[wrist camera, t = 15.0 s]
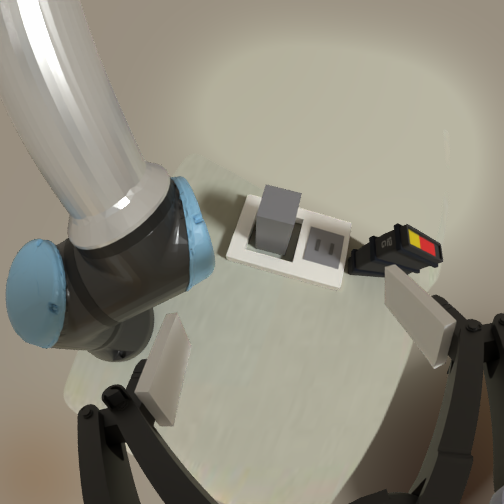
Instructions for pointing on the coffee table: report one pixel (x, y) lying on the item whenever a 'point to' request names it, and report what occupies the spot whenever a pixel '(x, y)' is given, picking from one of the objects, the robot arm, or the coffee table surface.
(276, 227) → the grey tall block
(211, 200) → the coffee table surface
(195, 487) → the robot arm
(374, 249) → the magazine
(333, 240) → the white flat rectangular frame
